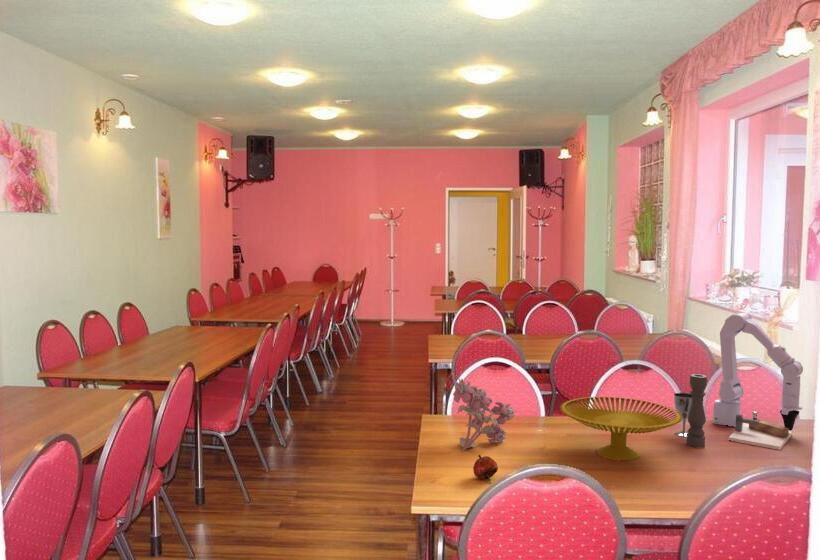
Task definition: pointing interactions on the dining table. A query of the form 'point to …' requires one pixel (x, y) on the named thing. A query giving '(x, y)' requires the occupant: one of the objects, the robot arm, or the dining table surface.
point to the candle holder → (697, 411)
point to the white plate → (758, 438)
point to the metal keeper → (741, 420)
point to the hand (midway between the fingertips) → (788, 429)
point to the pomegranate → (485, 467)
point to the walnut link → (770, 428)
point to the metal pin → (755, 415)
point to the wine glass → (682, 409)
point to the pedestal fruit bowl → (620, 422)
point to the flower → (481, 413)
